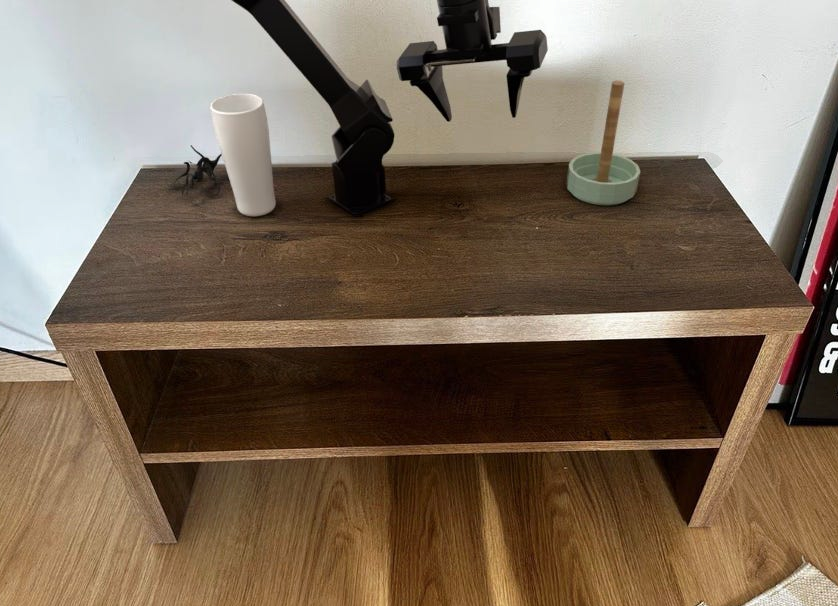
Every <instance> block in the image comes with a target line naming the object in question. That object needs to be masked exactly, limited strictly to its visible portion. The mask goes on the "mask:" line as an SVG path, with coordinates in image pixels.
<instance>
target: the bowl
mask: <svg viewBox="0 0 838 606" xmlns="http://www.w3.org/2000/svg"><path fill="white" fill-rule="evenodd" d="M600 155H601V152H589V153H582V154H580V155H578V156H575V157H574V158H572V159H571V160H570V161H569V163H568V169H567V176H566V188H567V191H569V192H570V193H571V194H572V196H574V197H575V198H576V199H578V200H580V201H581V202H585V203H587V204H591V205H597V206H615V205H620V204H623V203H626V202H627V201H628V200H630V199H633V198H634V196H635V195H636V193H637V191H638V186H639V182H640V175H641V169H640V167H639V165H638V164H637V163H636V162H634V161H633V160H632V159H630V158H628V157H625V156H623V155H620V154H615V153H613V154H612V160H611V166H610V172H609V177H608V179H609V180H611V181H612V183H605V182H597V181H592V179H594V178H597V174H598V168H599V161H600Z"/></svg>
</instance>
